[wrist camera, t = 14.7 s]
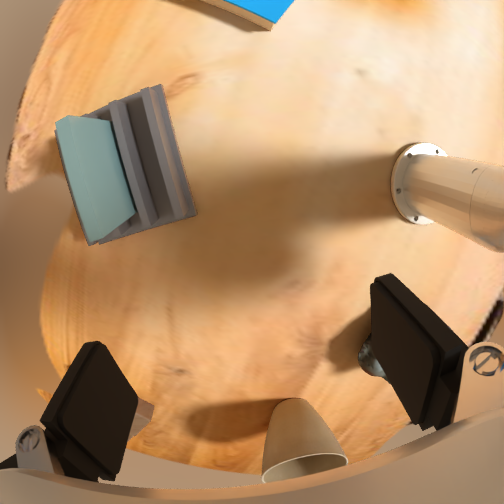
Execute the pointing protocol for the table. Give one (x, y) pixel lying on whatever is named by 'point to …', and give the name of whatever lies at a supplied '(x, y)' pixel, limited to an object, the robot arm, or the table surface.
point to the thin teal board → (96, 174)
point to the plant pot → (299, 443)
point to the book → (255, 10)
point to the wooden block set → (141, 417)
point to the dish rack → (146, 162)
